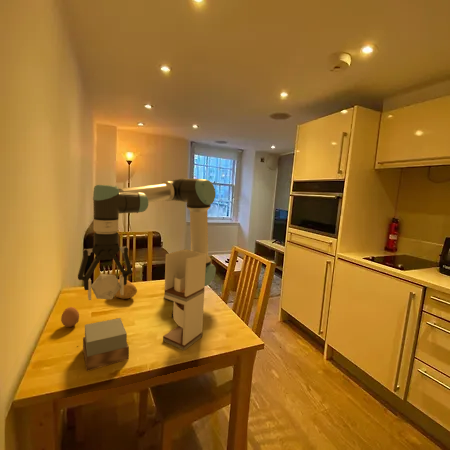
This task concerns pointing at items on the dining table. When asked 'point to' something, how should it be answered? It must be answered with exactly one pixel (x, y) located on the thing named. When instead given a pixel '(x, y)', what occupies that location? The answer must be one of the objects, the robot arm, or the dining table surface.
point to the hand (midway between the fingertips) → (106, 296)
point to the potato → (127, 290)
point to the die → (105, 286)
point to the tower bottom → (104, 357)
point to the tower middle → (105, 336)
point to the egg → (70, 317)
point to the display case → (185, 295)
